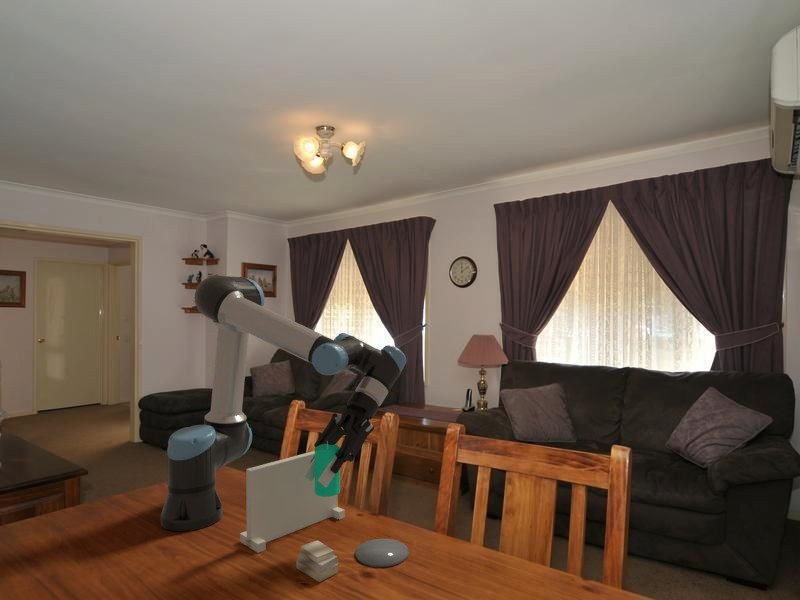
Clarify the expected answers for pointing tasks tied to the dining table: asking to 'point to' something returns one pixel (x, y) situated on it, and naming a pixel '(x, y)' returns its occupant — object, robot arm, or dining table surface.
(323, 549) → the offcut stack
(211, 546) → the dining table surface
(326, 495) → the candle
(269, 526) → the standing panel with feet
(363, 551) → the coaster
